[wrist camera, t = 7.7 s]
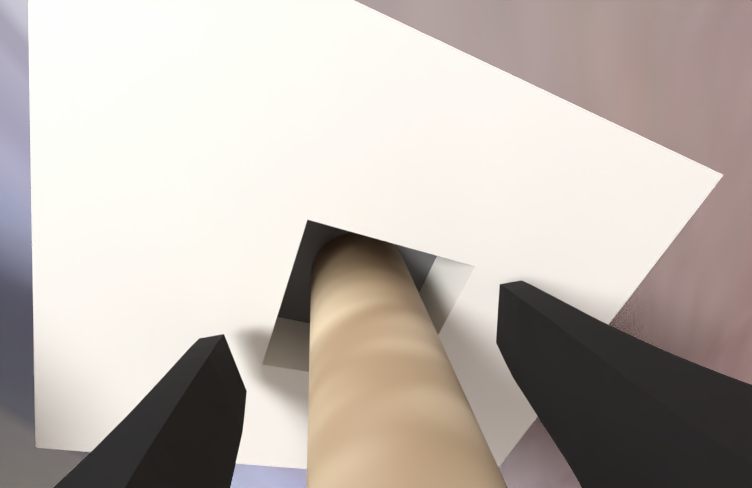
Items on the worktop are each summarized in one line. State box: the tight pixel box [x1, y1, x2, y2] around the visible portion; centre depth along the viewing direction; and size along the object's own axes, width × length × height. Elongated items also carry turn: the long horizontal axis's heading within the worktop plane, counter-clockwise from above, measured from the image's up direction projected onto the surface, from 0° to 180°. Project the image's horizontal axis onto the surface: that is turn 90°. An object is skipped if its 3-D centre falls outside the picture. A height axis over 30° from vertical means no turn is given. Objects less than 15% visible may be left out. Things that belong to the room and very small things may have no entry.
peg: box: [307, 232, 507, 488], centre depth 9 cm, size 3×3×8 cm
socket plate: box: [28, 0, 723, 469], centre depth 11 cm, size 16×14×2 cm
